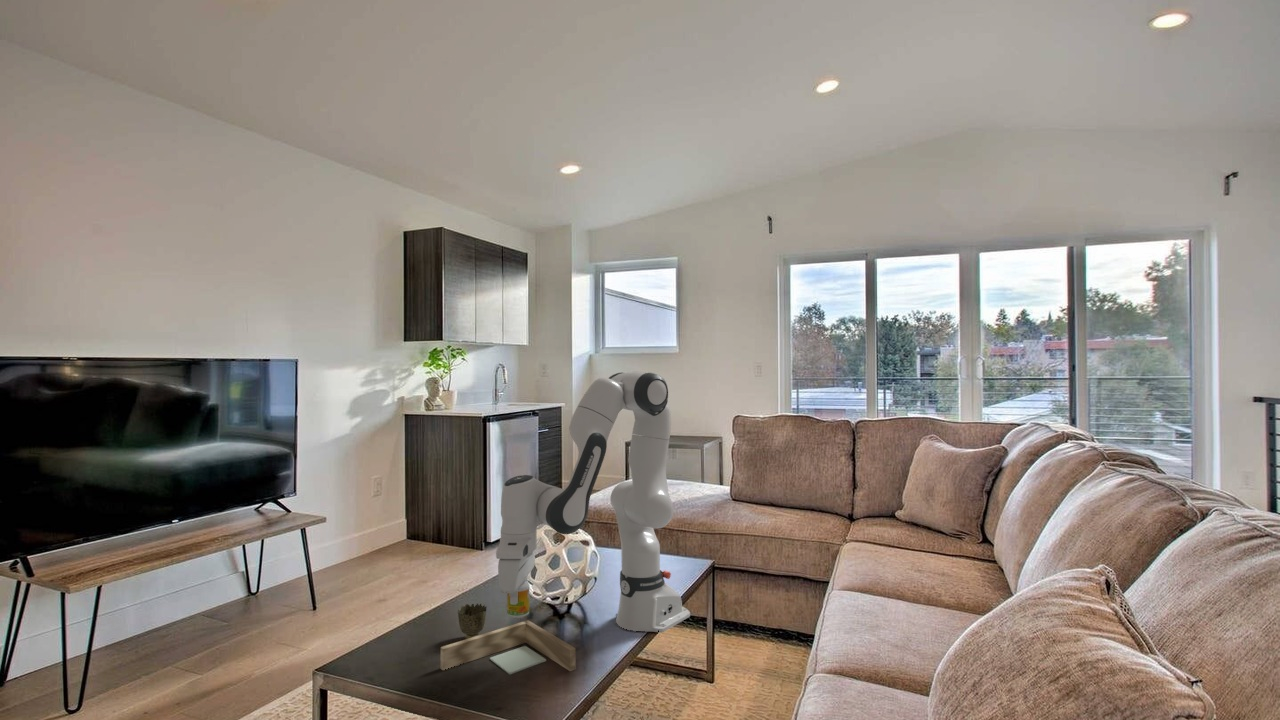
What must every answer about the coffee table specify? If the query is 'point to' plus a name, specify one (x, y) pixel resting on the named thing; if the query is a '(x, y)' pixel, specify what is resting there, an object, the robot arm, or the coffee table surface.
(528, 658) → the mat
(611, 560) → the coffee table surface
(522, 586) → the supplement bottle
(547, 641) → the oak corner walls
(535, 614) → the coffee table surface
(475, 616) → the cup
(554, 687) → the coffee table surface
